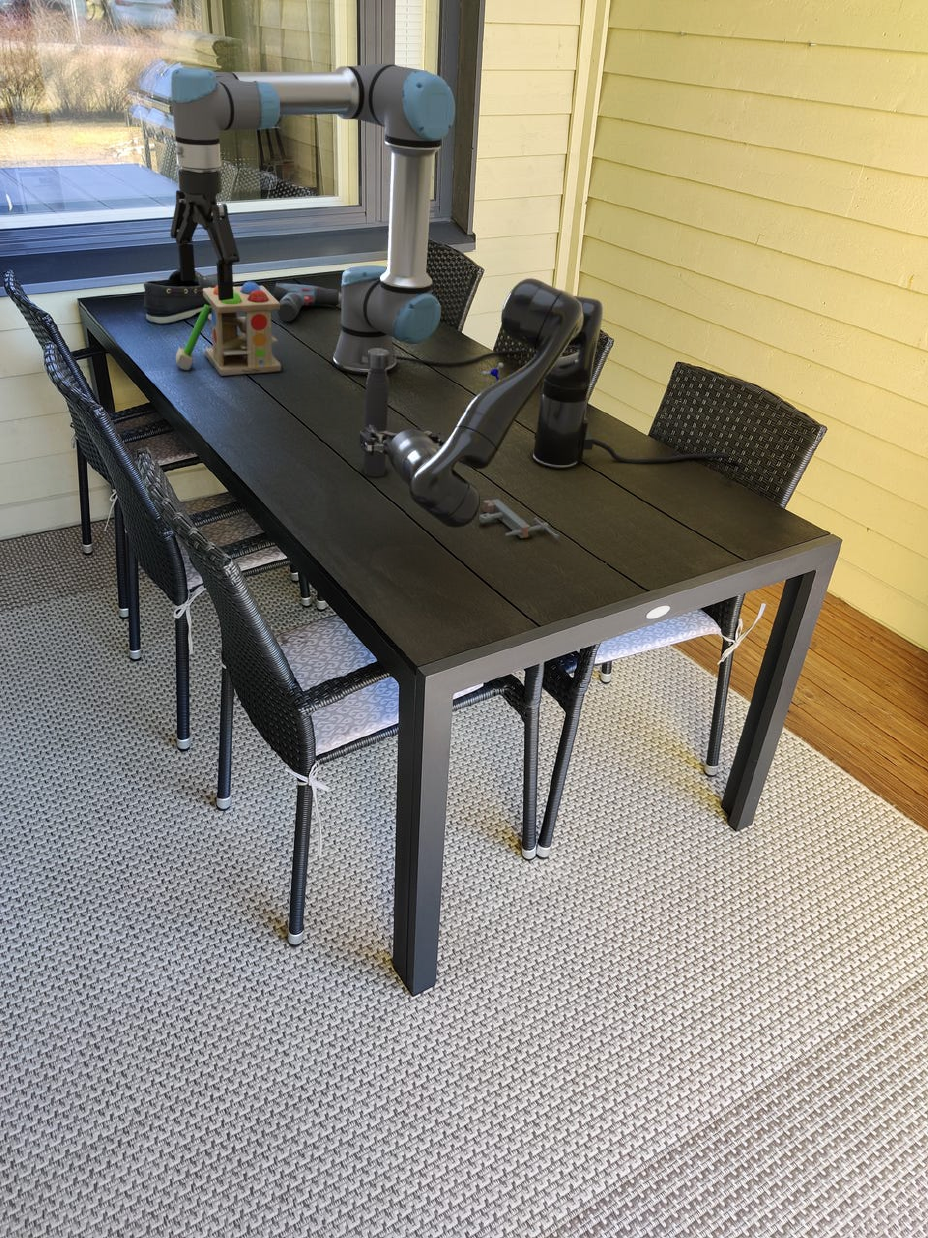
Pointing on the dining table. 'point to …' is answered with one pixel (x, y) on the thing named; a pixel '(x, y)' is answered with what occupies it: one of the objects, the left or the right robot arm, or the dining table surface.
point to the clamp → (511, 519)
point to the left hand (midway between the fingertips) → (206, 289)
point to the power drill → (302, 298)
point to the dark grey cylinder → (376, 417)
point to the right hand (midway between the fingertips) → (394, 431)
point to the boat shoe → (176, 297)
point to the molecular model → (494, 371)
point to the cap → (378, 358)
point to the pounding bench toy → (229, 347)
